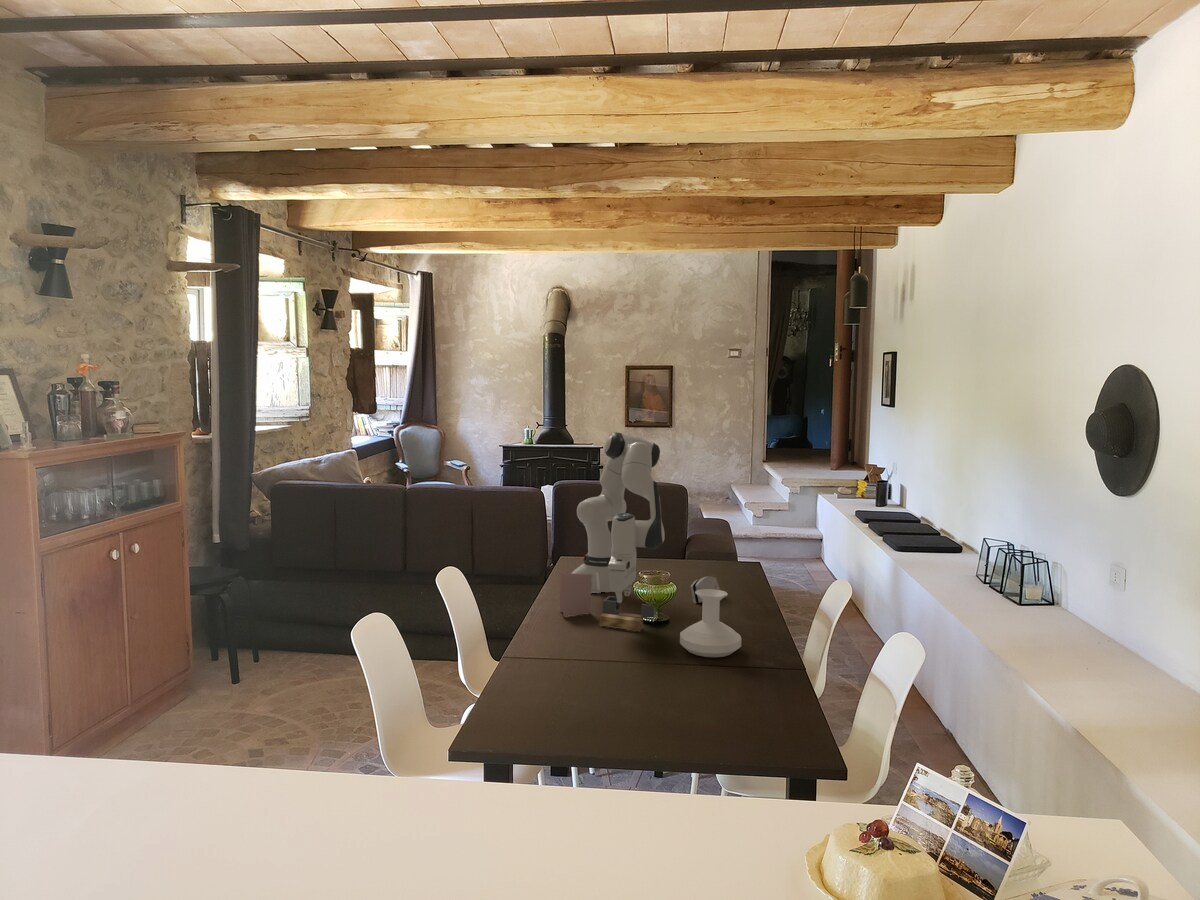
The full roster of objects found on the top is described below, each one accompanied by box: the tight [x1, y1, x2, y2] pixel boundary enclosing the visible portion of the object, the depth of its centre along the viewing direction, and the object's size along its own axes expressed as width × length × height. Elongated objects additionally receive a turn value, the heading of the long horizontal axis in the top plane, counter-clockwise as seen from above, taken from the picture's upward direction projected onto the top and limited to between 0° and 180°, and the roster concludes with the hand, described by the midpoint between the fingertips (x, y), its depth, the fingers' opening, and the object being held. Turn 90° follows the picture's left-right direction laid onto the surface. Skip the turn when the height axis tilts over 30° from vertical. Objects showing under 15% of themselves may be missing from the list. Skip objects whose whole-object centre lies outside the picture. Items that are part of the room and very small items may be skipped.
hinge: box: [690, 576, 721, 604], centre depth 328 cm, size 17×5×10 cm, turn 143°
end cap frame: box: [602, 595, 656, 619], centre depth 301 cm, size 19×7×6 cm, turn 71°
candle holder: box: [679, 589, 742, 658], centre depth 265 cm, size 20×20×19 cm
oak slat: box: [599, 612, 644, 632], centre depth 290 cm, size 15×4×4 cm, turn 66°
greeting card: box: [559, 572, 592, 617], centre depth 303 cm, size 11×7×15 cm, turn 84°
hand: (623, 598), depth 289 cm, fingers open, 8 cm apart
